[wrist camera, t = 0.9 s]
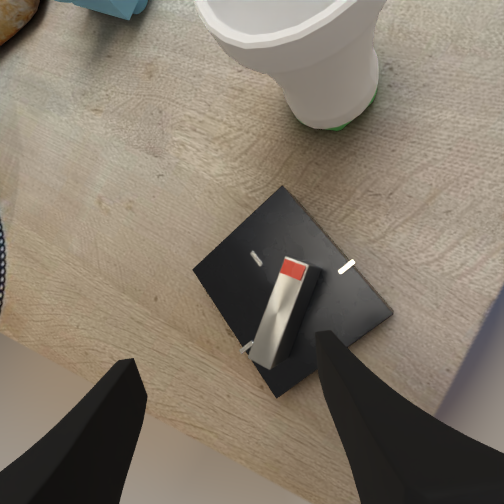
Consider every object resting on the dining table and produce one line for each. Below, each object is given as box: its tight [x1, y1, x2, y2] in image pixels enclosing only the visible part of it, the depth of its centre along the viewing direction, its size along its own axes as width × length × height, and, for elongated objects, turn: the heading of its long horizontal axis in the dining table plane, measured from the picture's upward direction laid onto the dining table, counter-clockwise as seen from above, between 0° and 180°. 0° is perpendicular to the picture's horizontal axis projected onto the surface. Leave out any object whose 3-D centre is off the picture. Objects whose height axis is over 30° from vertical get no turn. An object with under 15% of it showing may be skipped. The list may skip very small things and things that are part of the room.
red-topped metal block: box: [248, 256, 321, 370], centre depth 23 cm, size 8×2×4 cm, turn 158°
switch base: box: [193, 186, 393, 398], centre depth 27 cm, size 14×12×3 cm
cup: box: [194, 0, 387, 131], centre depth 23 cm, size 11×11×14 cm
